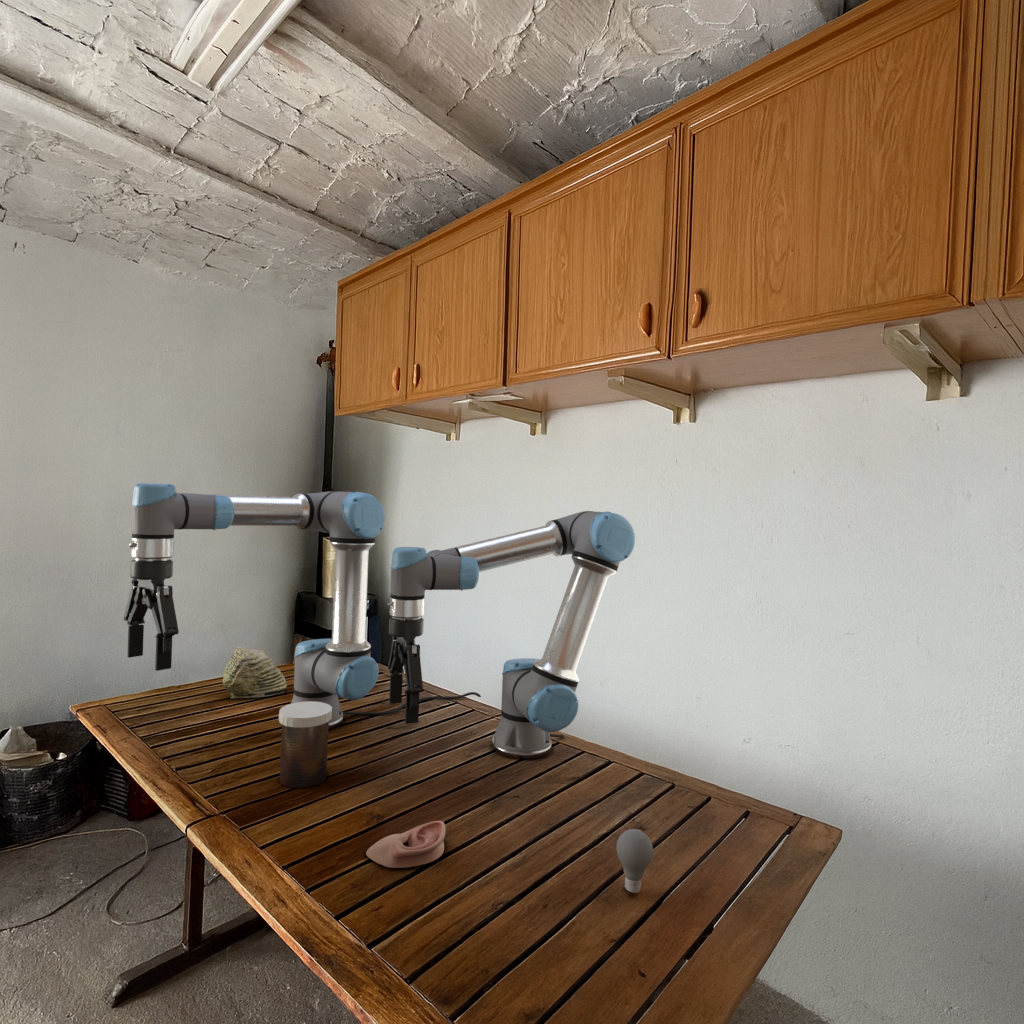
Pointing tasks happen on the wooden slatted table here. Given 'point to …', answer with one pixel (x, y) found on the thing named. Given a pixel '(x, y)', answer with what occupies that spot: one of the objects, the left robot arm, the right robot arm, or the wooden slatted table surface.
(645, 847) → the light bulb
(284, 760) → the jar
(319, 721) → the lid
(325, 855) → the wooden slatted table surface
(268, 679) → the fossil
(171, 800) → the wooden slatted table surface
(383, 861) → the anatomical model
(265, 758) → the wooden slatted table surface
